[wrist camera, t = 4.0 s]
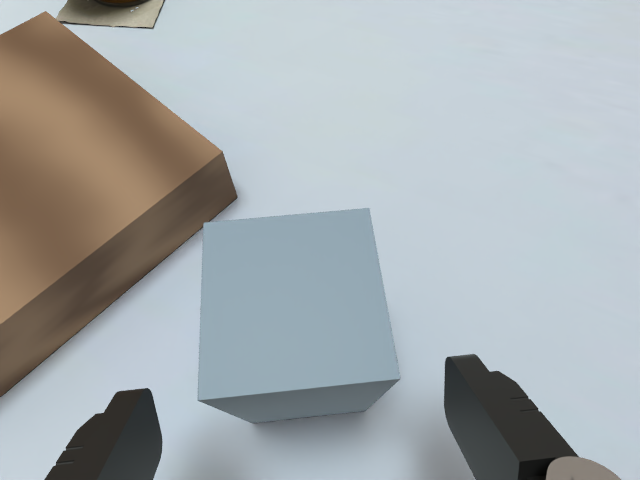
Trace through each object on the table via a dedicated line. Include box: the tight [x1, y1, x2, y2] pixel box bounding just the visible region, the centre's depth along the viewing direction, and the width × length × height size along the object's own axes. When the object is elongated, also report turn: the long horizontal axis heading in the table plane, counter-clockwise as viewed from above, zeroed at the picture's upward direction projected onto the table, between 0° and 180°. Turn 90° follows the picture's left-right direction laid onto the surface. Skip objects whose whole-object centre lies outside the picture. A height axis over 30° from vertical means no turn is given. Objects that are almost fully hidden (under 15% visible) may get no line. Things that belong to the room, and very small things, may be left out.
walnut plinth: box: [0, 11, 237, 397], centre depth 21 cm, size 16×16×4 cm
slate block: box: [198, 208, 400, 423], centre depth 15 cm, size 5×5×9 cm
